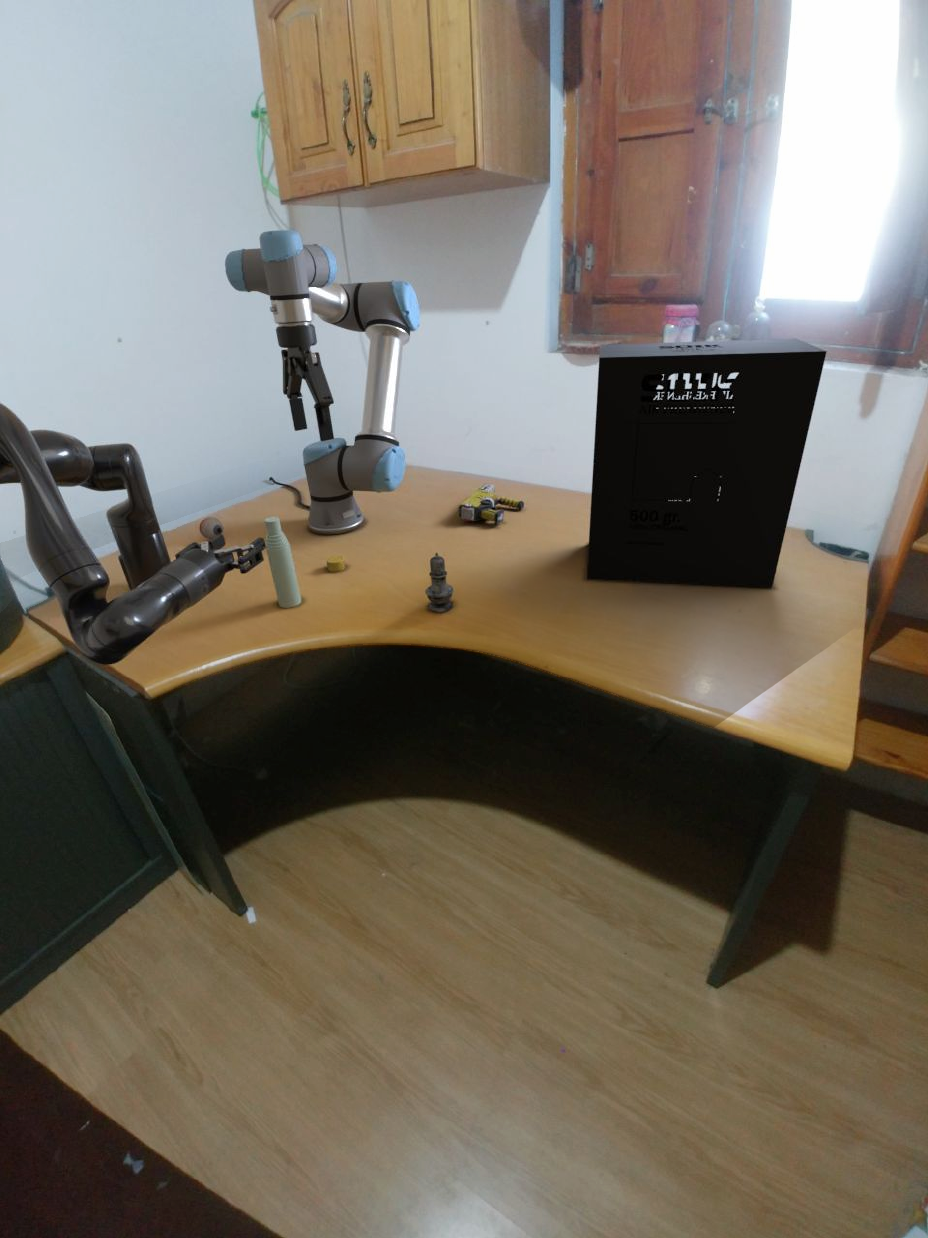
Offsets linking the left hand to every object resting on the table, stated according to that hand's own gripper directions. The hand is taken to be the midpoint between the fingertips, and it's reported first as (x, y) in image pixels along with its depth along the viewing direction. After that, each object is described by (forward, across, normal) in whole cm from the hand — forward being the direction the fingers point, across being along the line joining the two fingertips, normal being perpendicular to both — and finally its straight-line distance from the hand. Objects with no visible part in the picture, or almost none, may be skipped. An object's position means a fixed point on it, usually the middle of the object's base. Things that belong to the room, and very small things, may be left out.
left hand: (242, 540), depth 112 cm
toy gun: (+71, -33, +20) cm, 80 cm away
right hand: (+28, -3, -12) cm, 31 cm away
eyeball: (+40, +39, +20) cm, 59 cm away
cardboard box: (+42, -80, +19) cm, 92 cm away
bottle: (+10, 0, +19) cm, 21 cm away
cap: (+28, -3, +17) cm, 33 cm away
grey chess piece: (+14, -33, +19) cm, 41 cm away
